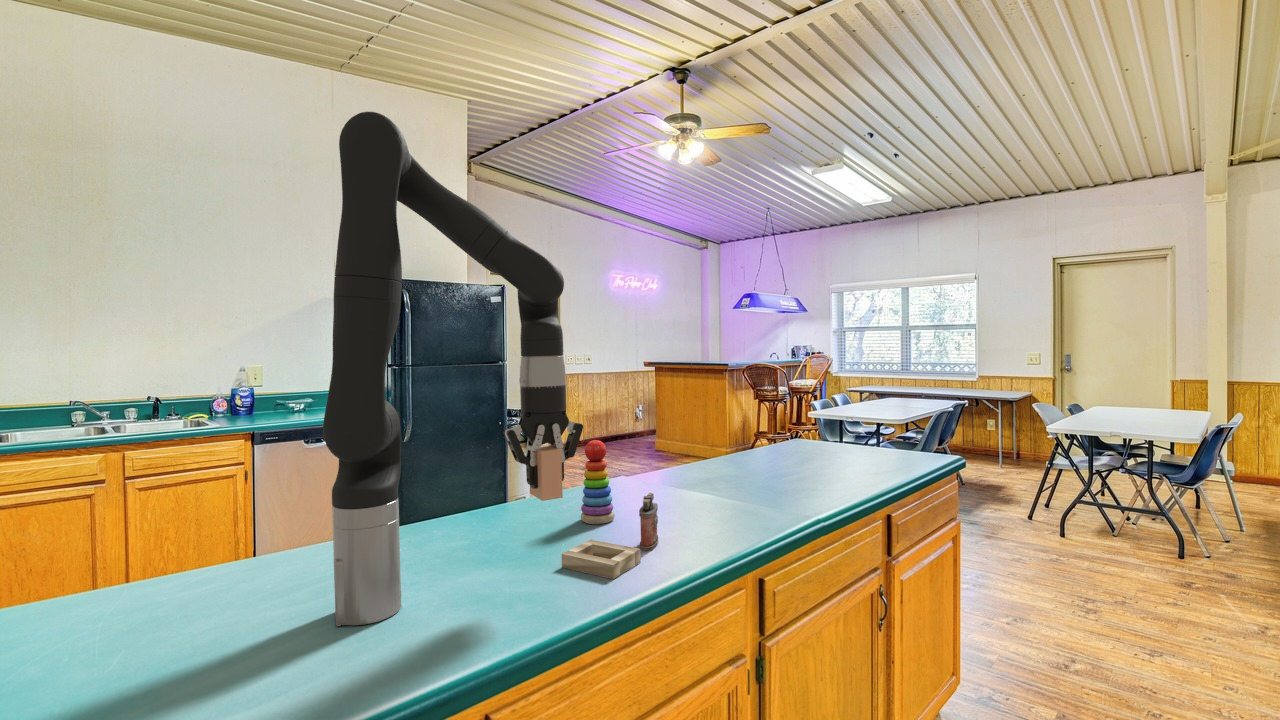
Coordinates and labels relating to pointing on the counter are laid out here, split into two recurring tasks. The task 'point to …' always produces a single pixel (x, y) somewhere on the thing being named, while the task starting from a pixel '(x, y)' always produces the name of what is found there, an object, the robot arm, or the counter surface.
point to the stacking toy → (596, 486)
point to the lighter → (648, 523)
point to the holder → (601, 558)
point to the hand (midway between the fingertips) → (545, 485)
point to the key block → (548, 474)
